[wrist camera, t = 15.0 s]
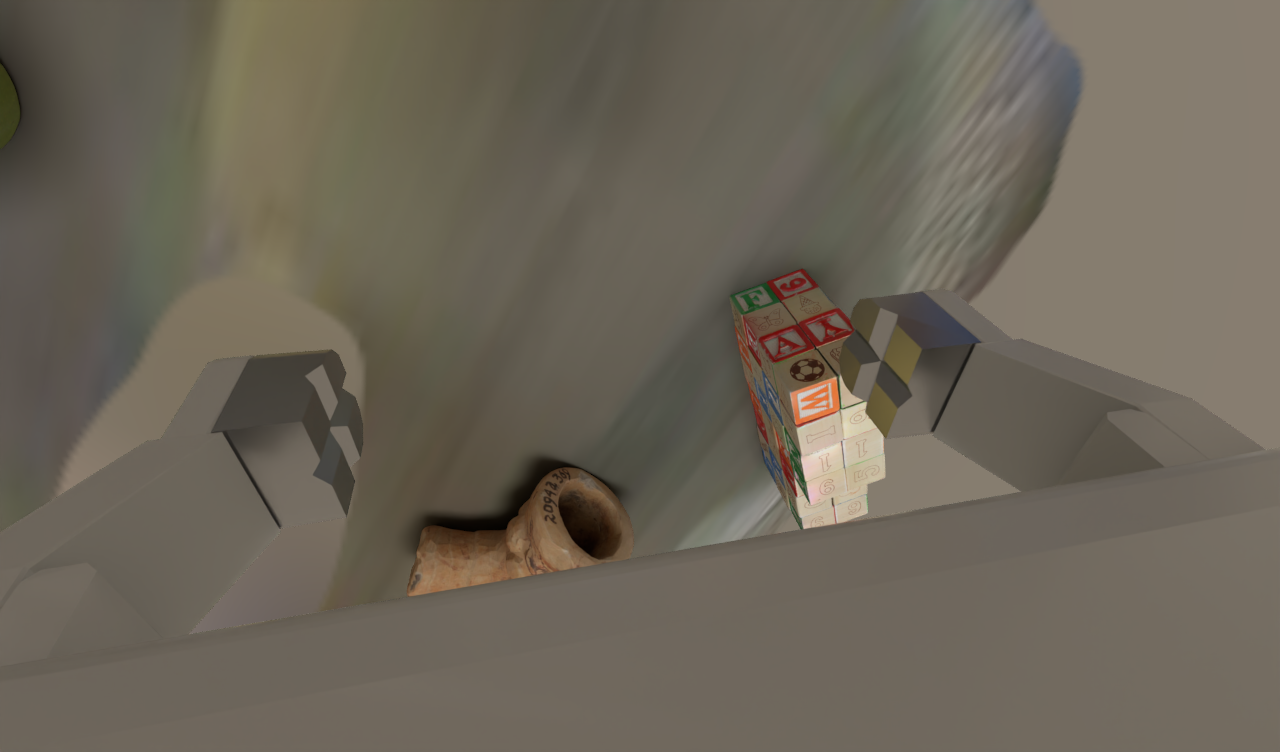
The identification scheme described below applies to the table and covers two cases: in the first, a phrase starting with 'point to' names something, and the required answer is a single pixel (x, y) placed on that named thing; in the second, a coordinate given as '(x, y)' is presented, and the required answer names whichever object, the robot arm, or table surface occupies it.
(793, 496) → the stack of blocks
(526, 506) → the clay pipe
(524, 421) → the table surface
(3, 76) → the plant pot
